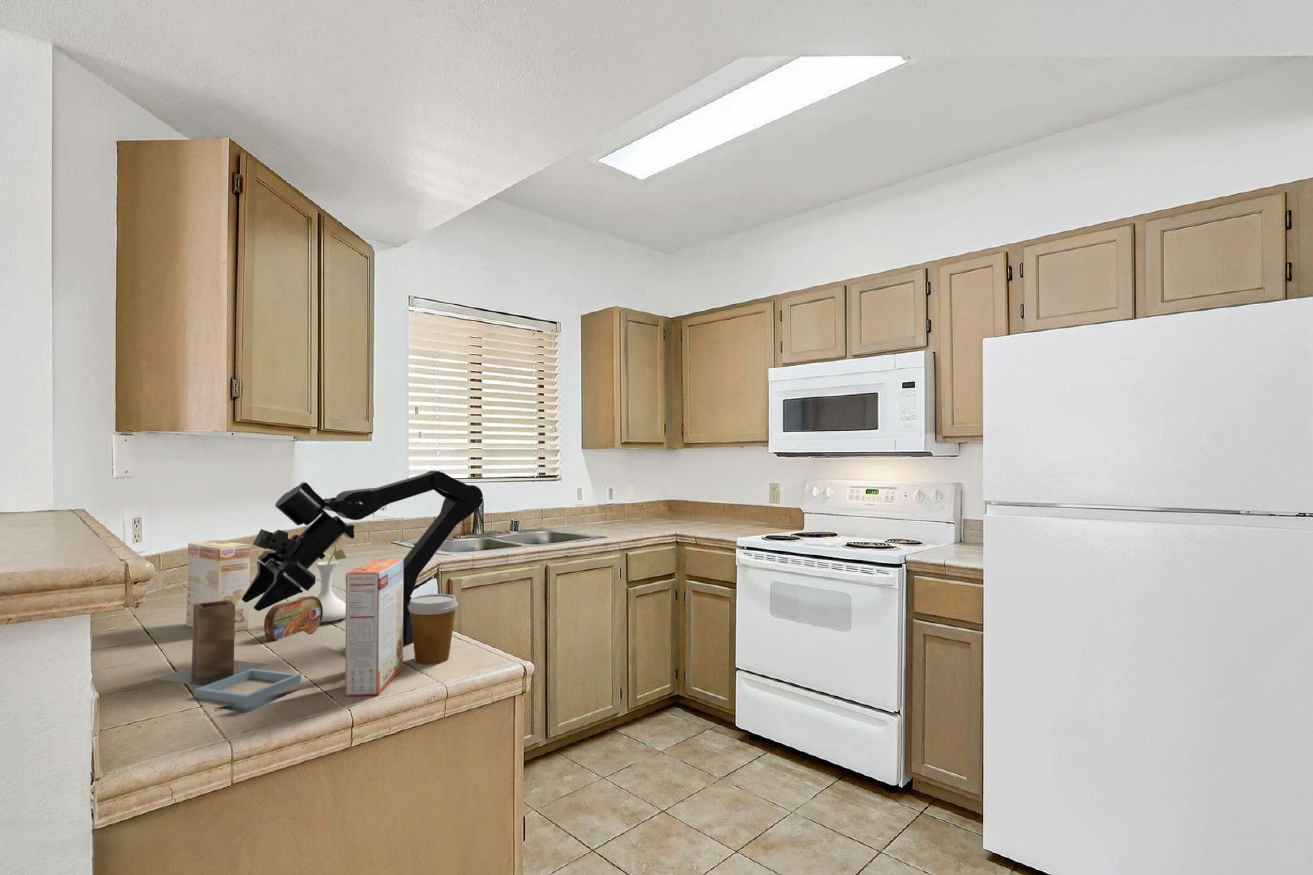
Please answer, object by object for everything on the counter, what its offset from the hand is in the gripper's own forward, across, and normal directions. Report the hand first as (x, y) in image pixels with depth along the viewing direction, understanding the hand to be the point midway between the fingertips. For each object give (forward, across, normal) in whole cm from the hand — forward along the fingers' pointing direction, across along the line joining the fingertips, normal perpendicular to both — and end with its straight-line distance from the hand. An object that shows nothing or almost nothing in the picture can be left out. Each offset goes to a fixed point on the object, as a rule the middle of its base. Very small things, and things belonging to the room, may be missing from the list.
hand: (249, 605), depth 121 cm
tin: (0, -18, +18) cm, 26 cm away
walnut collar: (+12, 0, +4) cm, 12 cm away
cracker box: (-2, +22, +19) cm, 29 cm away
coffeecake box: (+7, -39, +10) cm, 41 cm away
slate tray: (+11, +15, +7) cm, 19 cm away
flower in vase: (-7, -29, +25) cm, 39 cm away
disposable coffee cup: (-11, +16, +29) cm, 35 cm away
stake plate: (+12, 0, +5) cm, 13 cm away
